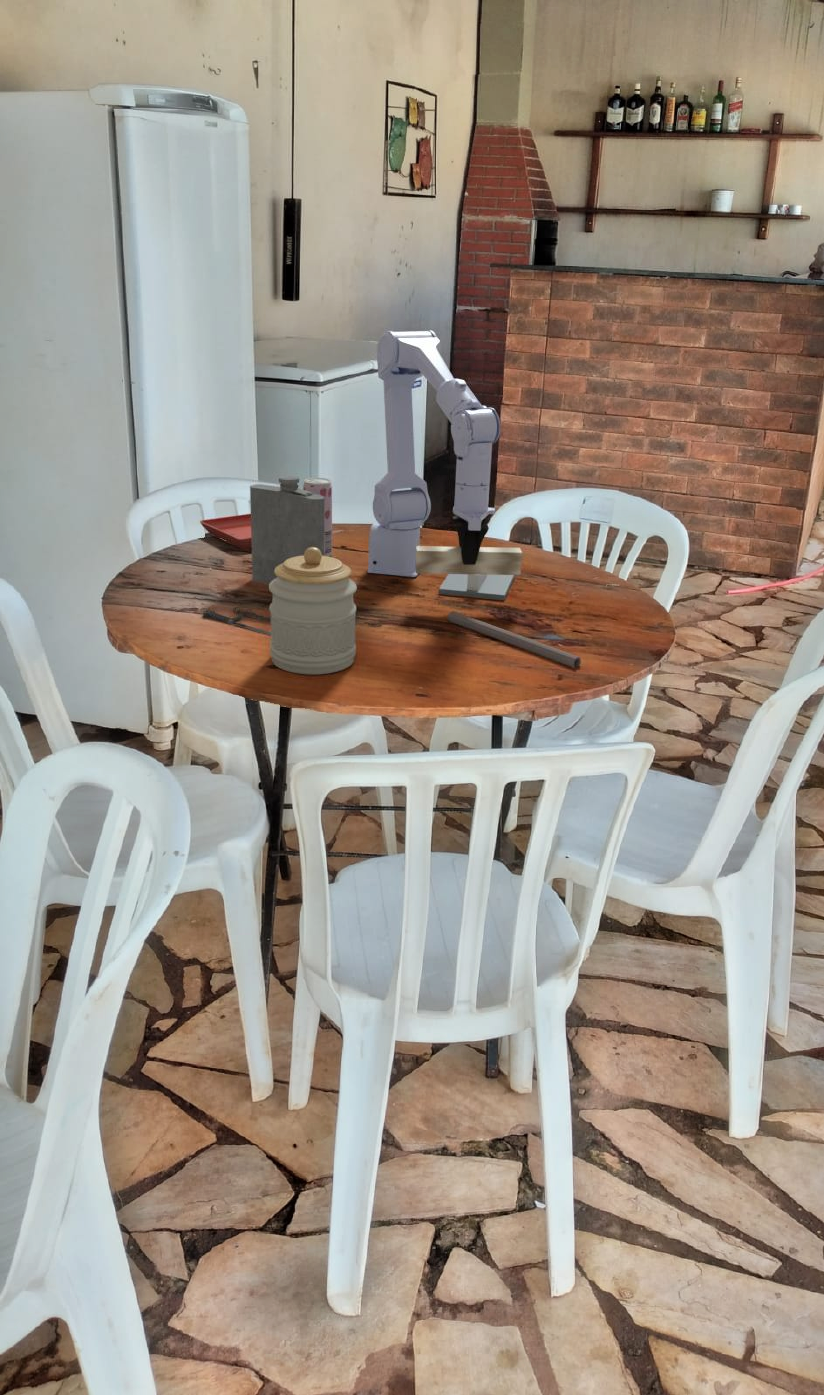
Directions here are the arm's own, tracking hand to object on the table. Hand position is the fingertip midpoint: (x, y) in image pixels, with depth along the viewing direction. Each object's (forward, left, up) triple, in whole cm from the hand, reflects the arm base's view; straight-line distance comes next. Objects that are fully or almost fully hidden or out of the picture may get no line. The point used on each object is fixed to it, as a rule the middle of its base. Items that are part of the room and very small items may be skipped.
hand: (468, 561), depth 188 cm
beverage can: (-34, +23, -9) cm, 42 cm away
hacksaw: (-29, -18, -9) cm, 35 cm away
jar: (-18, -32, -9) cm, 38 cm away
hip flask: (-33, +2, -9) cm, 34 cm away
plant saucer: (-50, +32, -9) cm, 60 cm away
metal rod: (+10, -15, -9) cm, 20 cm away
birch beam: (0, 0, -2) cm, 2 cm away
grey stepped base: (0, +13, -8) cm, 15 cm away
